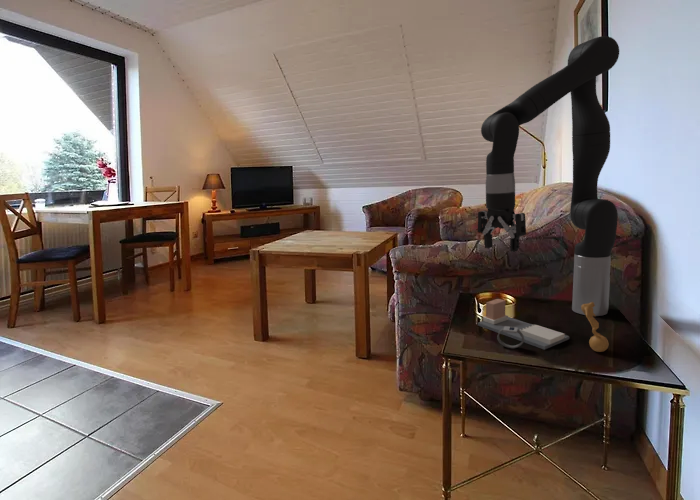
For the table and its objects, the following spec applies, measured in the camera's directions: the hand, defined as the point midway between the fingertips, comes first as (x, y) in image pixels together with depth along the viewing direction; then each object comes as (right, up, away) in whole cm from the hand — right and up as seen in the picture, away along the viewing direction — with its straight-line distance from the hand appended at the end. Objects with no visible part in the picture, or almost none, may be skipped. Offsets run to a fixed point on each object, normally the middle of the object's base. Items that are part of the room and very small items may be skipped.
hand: (501, 249), depth 120 cm
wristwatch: (-2, -25, -12) cm, 27 cm away
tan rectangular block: (0, -21, +4) cm, 21 cm away
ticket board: (+4, -22, -3) cm, 23 cm away
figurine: (+16, -24, -17) cm, 34 cm away
